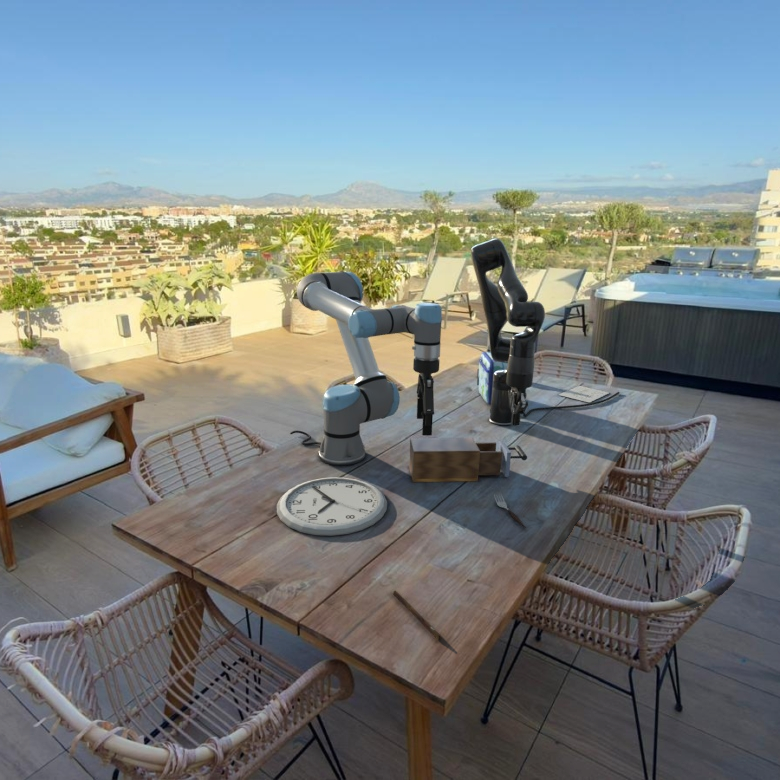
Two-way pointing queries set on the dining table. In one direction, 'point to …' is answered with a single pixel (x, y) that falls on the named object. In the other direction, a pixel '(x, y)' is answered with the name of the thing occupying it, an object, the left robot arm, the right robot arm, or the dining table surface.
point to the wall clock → (331, 506)
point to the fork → (504, 505)
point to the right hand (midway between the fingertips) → (515, 424)
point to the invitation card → (584, 394)
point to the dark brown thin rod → (416, 614)
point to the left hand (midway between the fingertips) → (423, 426)
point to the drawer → (497, 458)
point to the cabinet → (444, 459)
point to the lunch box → (488, 375)
